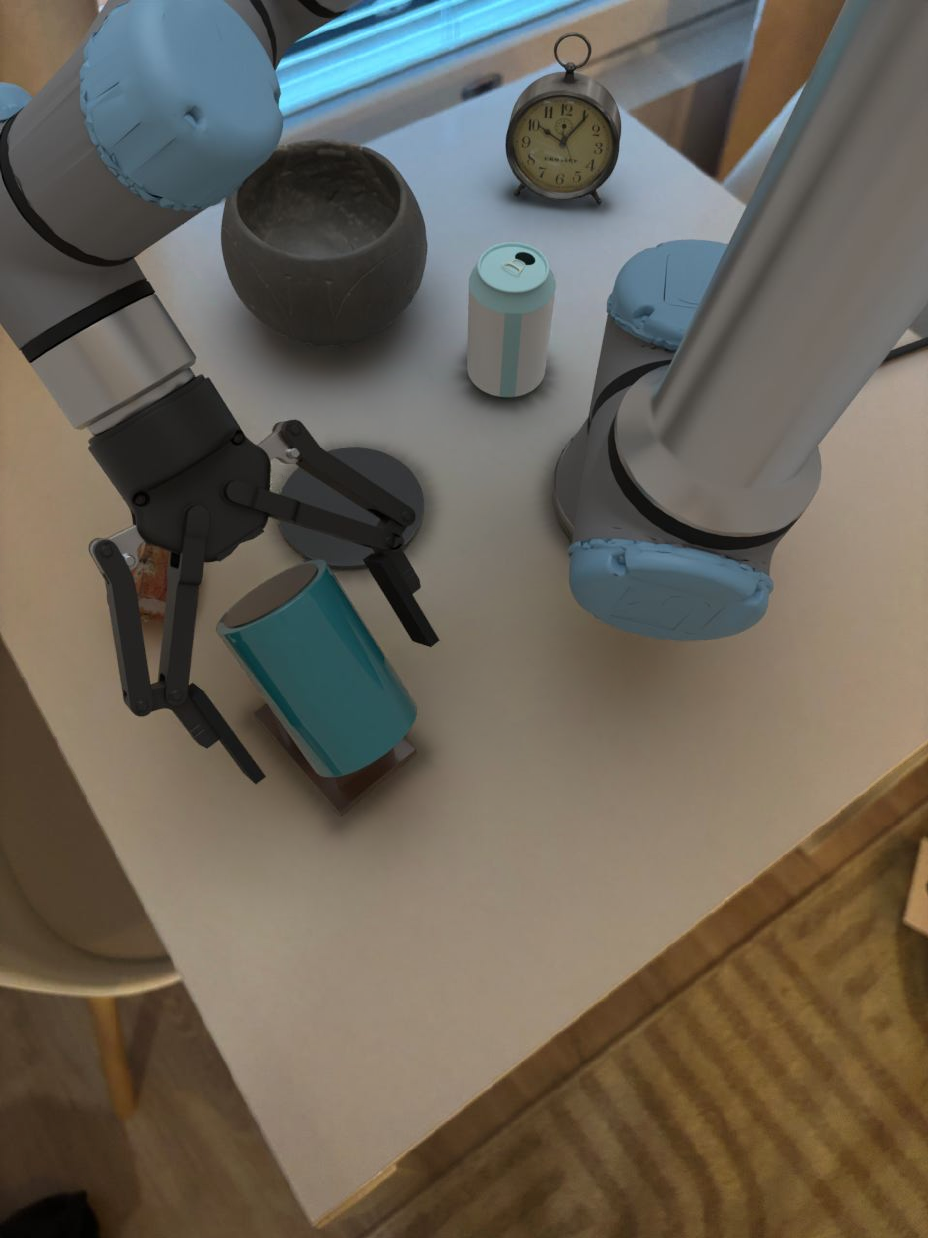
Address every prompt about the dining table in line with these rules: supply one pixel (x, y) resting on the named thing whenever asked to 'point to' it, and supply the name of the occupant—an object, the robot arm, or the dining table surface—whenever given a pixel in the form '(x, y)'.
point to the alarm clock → (564, 134)
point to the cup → (319, 669)
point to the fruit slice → (151, 581)
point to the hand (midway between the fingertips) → (343, 705)
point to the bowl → (324, 242)
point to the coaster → (350, 506)
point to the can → (509, 319)
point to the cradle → (341, 788)
